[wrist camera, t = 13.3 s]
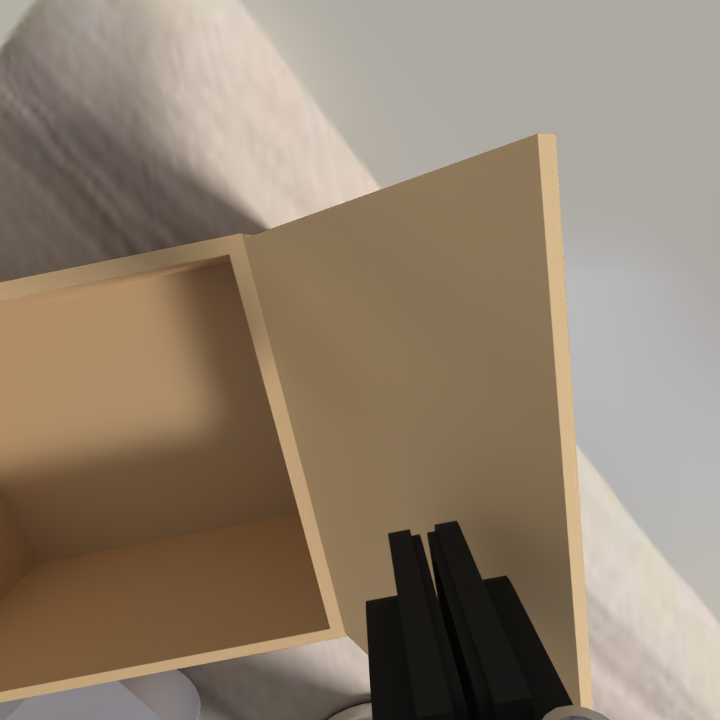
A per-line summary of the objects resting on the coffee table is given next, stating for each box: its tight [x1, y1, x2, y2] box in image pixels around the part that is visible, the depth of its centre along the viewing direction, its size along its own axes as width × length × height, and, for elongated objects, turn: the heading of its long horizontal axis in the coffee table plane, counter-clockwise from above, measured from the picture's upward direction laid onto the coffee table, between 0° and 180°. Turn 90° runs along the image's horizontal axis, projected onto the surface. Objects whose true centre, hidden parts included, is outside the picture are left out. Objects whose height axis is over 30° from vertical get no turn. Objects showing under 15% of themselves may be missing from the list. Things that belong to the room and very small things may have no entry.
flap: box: [243, 134, 593, 710], centre depth 13 cm, size 18×10×1 cm
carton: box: [0, 233, 346, 703], centre depth 21 cm, size 18×22×10 cm
